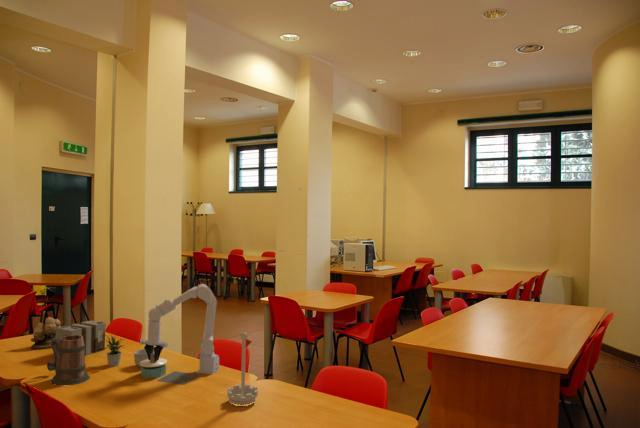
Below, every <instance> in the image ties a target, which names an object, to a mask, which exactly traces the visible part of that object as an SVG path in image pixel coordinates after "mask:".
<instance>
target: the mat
mask: <svg viewBox="0 0 640 428" xmlns="http://www.w3.org/2000/svg"><path fill="white" fill-rule="evenodd" d="M200 376H201V374H200V373H198V374H197V373H189V372H183V371H176V370H174V371H172V372H170V373H168V374H167V375H166V374H165V375H164V376H162V377H160V378H159V379H157V380H156V382H161V383H168V384H169V383H170V384H175V385H181V386H182V385H183V386H185V385H187V384H189V383H190V382H192V381H194V380H195V379H196V378H198V377H200Z"/></svg>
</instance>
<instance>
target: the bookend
mask: <svg viewBox="0 0 640 428" xmlns="http://www.w3.org/2000/svg"><path fill="white" fill-rule="evenodd" d="M74 335H81V336H83V339H84V344H85V356H89V355H91V354H93V353H95V354H97V353H99V352H102V351H105V350H106V349H104V350H103V348H106V342H105V341H106V322H104V321H96V320H87V321H82V322H81V321H80V323H74V324H73V323H72V324H71V325H70V326H69V325H64V326H61V327H58V328H56V340H57V339H60V338H61V337H65V336H74ZM99 338H102V339H99Z"/></svg>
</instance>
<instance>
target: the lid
mask: <svg viewBox="0 0 640 428" xmlns="http://www.w3.org/2000/svg"><path fill="white" fill-rule="evenodd" d="M167 363H168V359H166V358H162V357H159V360H158V361H155V353H151V354H150V360H149V359H146V360H143V361H141V362H140V363H139V365H140V366H142V367H158V366H162V365H166V364H167Z"/></svg>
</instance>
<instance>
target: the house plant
mask: <svg viewBox="0 0 640 428" xmlns="http://www.w3.org/2000/svg"><path fill="white" fill-rule="evenodd" d="M110 336H111V338H110V337H109V336H108V335H107V334H105V337H106V338H107V339H105V348H103V351H105V350H107V348H108V349H109V350H110V351H109V350H108V352H107V353H106V357H107V365H108V367H118V366H119V365H120V361H121V357H122V351H121V350H122V349H123V347H126V346H125V345H124V344H122V345H121V343H122V342H123V341H124V340H125V339H126V338H128V336H127V337H125V338H123V336H122V337H121V338H120V339H118V340H116V337H115V336H114V335H113V334H111V335H110ZM122 338H123V339H122ZM99 339H102V338H99ZM106 343H107V344H106ZM104 349H105V350H104Z"/></svg>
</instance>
